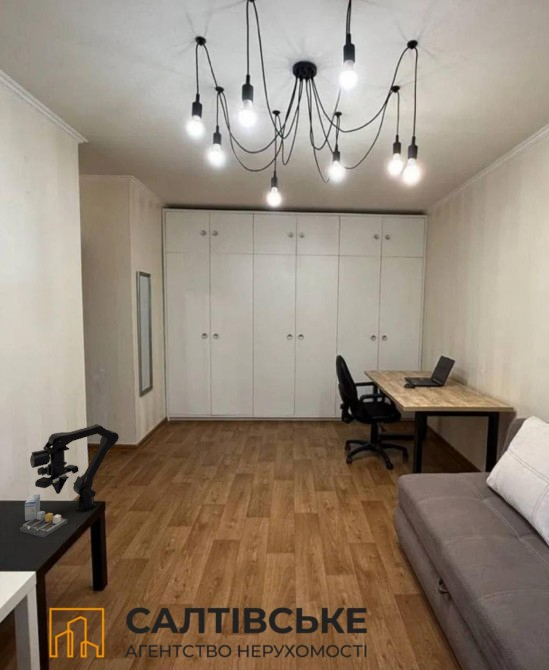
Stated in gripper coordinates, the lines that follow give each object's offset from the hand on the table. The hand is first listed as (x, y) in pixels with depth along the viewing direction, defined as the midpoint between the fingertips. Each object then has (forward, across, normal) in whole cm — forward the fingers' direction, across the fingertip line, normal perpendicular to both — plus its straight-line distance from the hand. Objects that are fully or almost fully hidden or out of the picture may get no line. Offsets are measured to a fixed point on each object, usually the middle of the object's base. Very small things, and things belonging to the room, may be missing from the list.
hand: (58, 493), depth 170 cm
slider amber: (+10, +5, 0) cm, 11 cm away
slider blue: (+10, +5, -5) cm, 12 cm away
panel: (+12, +8, 0) cm, 14 cm away
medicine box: (+12, +2, -13) cm, 18 cm away
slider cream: (+10, +5, +5) cm, 12 cm away
